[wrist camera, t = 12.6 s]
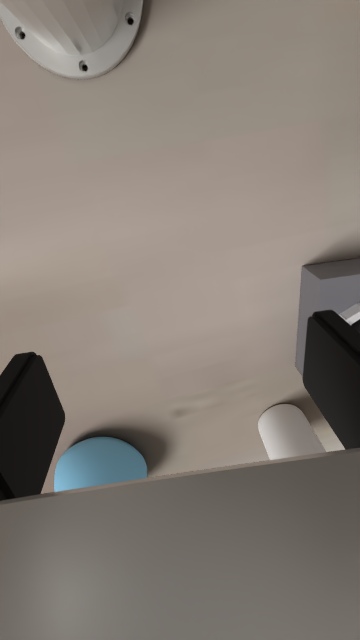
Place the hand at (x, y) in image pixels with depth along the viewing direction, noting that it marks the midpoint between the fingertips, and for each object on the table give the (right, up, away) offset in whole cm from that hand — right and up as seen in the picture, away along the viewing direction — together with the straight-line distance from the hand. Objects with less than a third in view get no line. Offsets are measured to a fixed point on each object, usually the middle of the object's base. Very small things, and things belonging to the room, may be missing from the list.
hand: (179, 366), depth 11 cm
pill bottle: (+17, -15, +42) cm, 48 cm away
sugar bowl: (-13, -23, +44) cm, 51 cm away
